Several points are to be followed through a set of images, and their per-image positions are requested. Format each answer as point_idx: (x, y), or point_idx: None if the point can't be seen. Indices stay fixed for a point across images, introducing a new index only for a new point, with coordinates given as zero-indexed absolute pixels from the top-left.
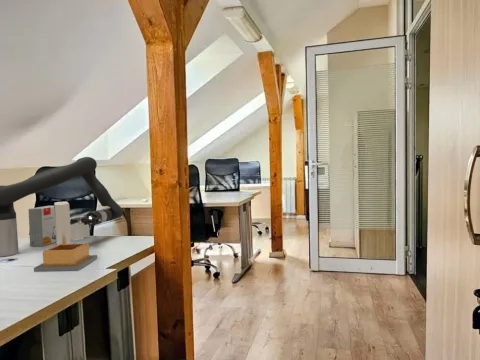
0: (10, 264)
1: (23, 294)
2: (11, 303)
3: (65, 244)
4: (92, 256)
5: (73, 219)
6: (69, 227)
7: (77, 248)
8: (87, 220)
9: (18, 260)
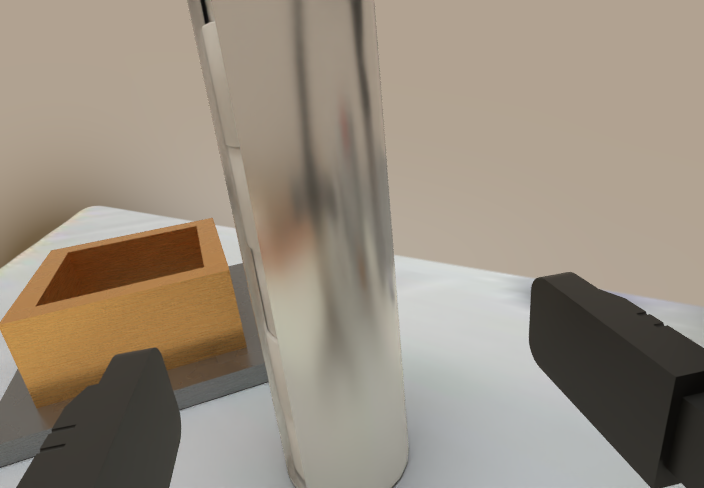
0: (458, 276)
1: (143, 229)
2: (138, 217)
3: (174, 275)
4: (10, 419)
5: (665, 352)
6: (238, 239)
7: (45, 264)
8: (84, 430)
9: (510, 305)
